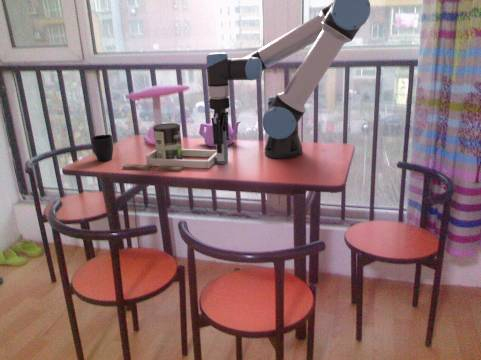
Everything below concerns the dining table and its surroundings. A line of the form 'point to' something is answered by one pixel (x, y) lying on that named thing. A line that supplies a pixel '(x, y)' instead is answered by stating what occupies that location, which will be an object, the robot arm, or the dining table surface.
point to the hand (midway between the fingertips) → (222, 158)
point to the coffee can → (168, 141)
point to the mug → (103, 147)
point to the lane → (153, 160)
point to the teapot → (209, 133)
